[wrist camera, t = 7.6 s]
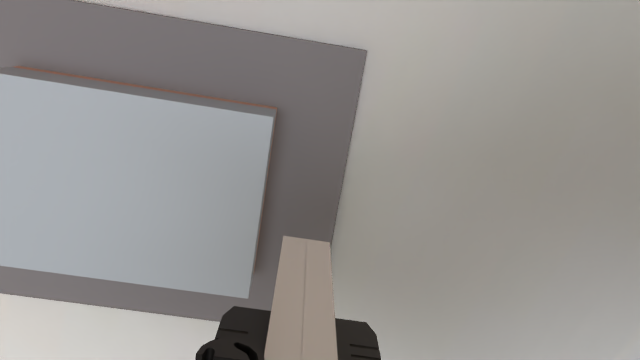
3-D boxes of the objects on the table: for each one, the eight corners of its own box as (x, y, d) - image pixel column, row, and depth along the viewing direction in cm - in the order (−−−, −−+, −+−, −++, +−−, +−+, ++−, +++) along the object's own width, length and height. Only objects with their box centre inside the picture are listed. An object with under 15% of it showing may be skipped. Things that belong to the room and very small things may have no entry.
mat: (365, 50, 22) (367, 50, 21) (314, 329, 26) (314, 334, 25) (-169, -41, 20) (-178, -43, 20) (-138, 270, 24) (-145, 274, 24)
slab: (273, 117, 20) (-20, 70, 19) (248, 298, 22) (-15, 263, 21) (277, 107, 22) (19, 65, 21) (254, 271, 24) (19, 238, 23)
